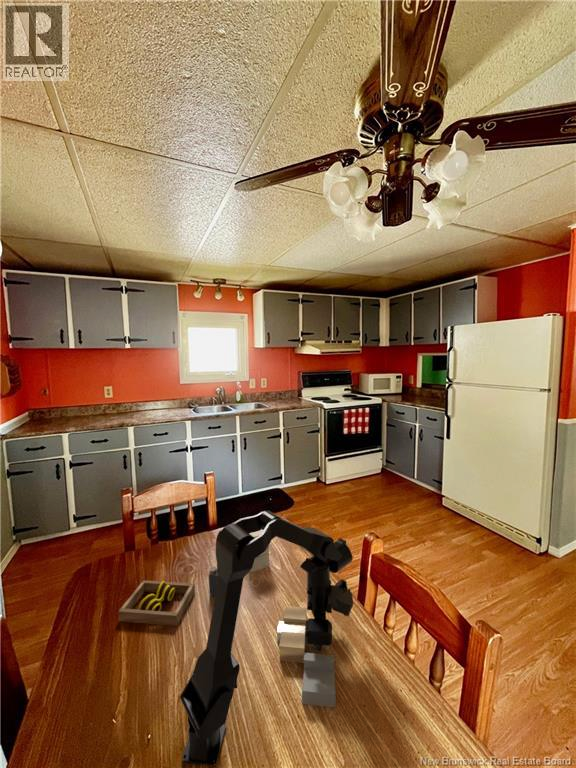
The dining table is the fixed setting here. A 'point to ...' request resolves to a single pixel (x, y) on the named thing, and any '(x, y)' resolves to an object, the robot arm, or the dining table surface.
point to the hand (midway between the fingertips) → (319, 637)
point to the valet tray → (156, 616)
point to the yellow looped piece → (157, 598)
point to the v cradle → (318, 680)
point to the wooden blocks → (293, 636)
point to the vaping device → (213, 580)
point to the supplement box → (260, 556)
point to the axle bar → (292, 630)
